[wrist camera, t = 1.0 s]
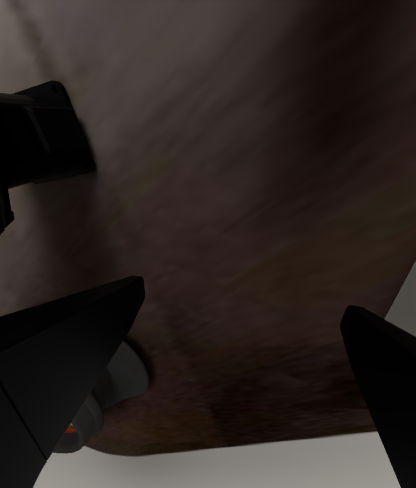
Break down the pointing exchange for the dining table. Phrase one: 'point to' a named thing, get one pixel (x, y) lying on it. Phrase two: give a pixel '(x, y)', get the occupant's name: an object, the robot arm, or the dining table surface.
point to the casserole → (106, 397)
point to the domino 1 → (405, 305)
